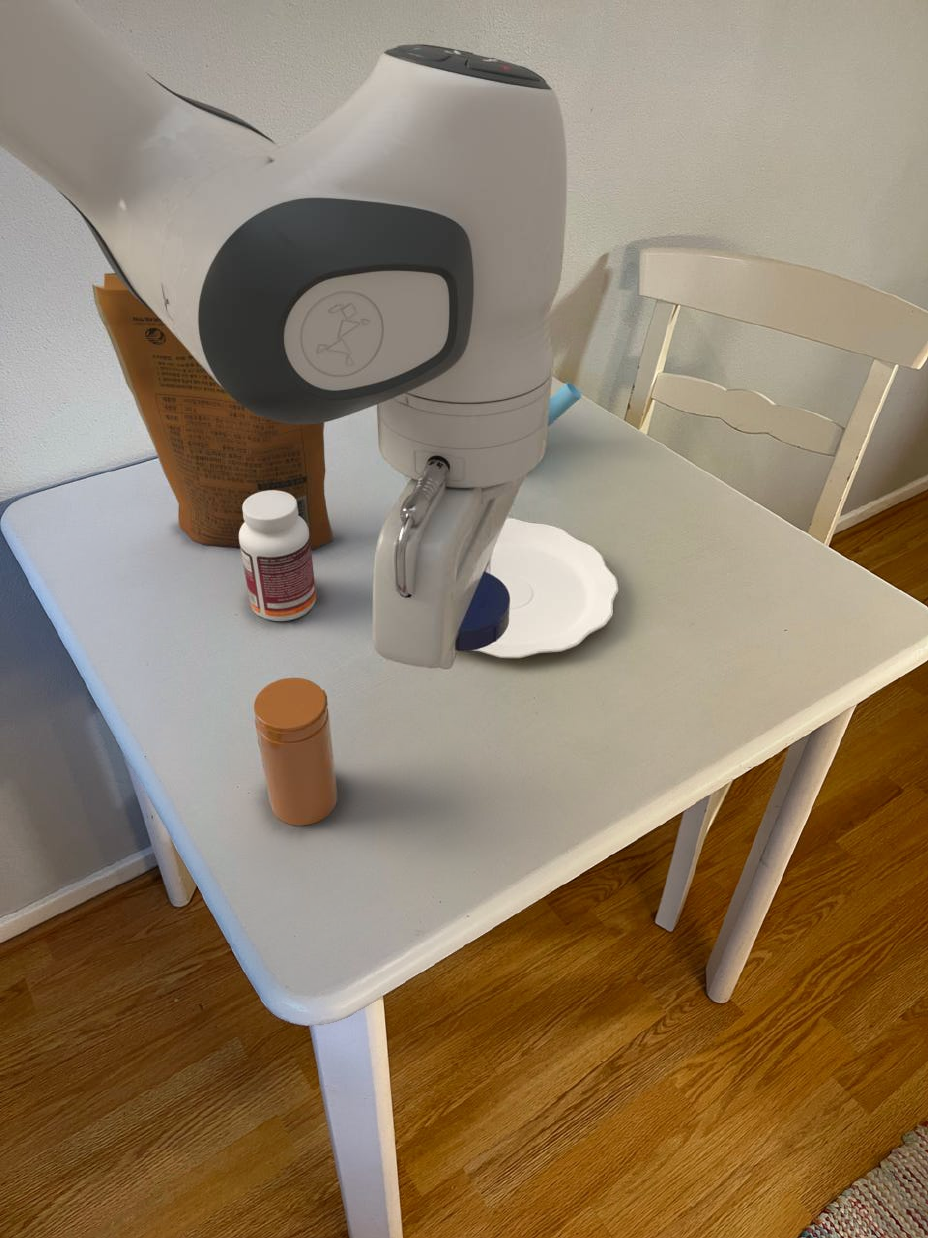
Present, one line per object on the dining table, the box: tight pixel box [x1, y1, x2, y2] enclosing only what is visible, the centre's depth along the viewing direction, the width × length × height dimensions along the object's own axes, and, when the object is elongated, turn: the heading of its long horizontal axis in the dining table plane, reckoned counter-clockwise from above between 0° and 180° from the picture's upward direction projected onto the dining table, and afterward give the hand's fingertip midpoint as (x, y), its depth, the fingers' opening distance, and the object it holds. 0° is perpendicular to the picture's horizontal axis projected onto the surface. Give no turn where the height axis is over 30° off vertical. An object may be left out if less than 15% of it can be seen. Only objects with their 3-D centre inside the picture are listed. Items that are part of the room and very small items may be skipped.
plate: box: [471, 517, 619, 659], centre depth 86 cm, size 21×21×2 cm
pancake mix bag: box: [91, 272, 335, 551], centre depth 83 cm, size 7×19×28 cm, turn 84°
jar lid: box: [458, 572, 510, 653], centre depth 55 cm, size 6×6×2 cm
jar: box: [253, 677, 338, 827], centre depth 64 cm, size 5×5×10 cm
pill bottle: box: [239, 490, 317, 622], centre depth 81 cm, size 6×6×11 cm
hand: (458, 619), depth 55 cm, fingers closed on jar lid, 6 cm apart
